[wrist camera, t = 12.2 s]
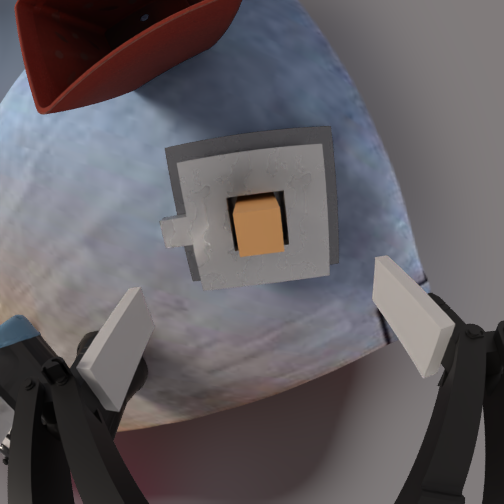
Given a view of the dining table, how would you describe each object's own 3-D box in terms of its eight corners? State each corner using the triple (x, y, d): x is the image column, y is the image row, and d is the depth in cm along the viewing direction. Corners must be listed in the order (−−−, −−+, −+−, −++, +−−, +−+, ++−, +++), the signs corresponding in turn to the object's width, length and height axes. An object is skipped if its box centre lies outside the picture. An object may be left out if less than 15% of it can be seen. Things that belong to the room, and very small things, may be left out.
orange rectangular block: (275, 220, 34) (284, 251, 24) (243, 224, 34) (239, 257, 25) (271, 188, 32) (279, 207, 23) (238, 193, 32) (232, 214, 23)
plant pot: (194, -33, 21) (167, -100, 5) (252, 53, 27) (252, -14, 12) (82, 32, 24) (13, 3, 8) (122, 123, 30) (39, 121, 15)
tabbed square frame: (334, 257, 38) (354, 286, 30) (195, 274, 39) (182, 307, 31) (326, 126, 31) (348, 122, 23) (169, 147, 32) (145, 150, 24)
